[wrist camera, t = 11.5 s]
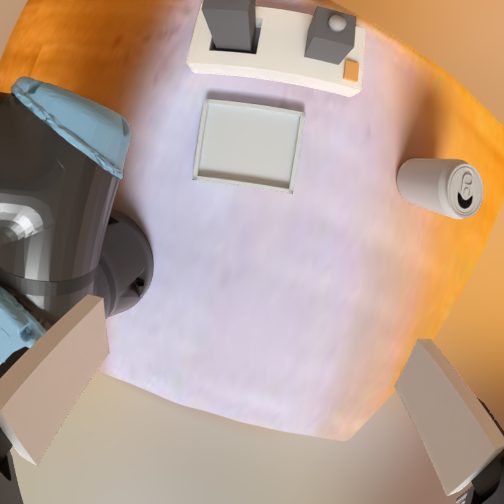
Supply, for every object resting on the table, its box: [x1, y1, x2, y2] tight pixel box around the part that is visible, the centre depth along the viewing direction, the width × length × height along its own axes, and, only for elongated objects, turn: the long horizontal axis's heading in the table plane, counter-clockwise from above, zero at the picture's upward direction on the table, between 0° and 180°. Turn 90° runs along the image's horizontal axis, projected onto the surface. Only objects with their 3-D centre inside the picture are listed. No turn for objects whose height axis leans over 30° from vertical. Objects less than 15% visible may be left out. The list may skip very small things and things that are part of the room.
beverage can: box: [397, 158, 484, 219], centre depth 28 cm, size 6×6×12 cm
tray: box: [192, 99, 306, 194], centre depth 33 cm, size 12×10×2 cm
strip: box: [186, 3, 366, 97], centre depth 24 cm, size 20×9×11 cm, turn 81°
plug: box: [201, 0, 256, 54], centre depth 22 cm, size 4×4×13 cm
